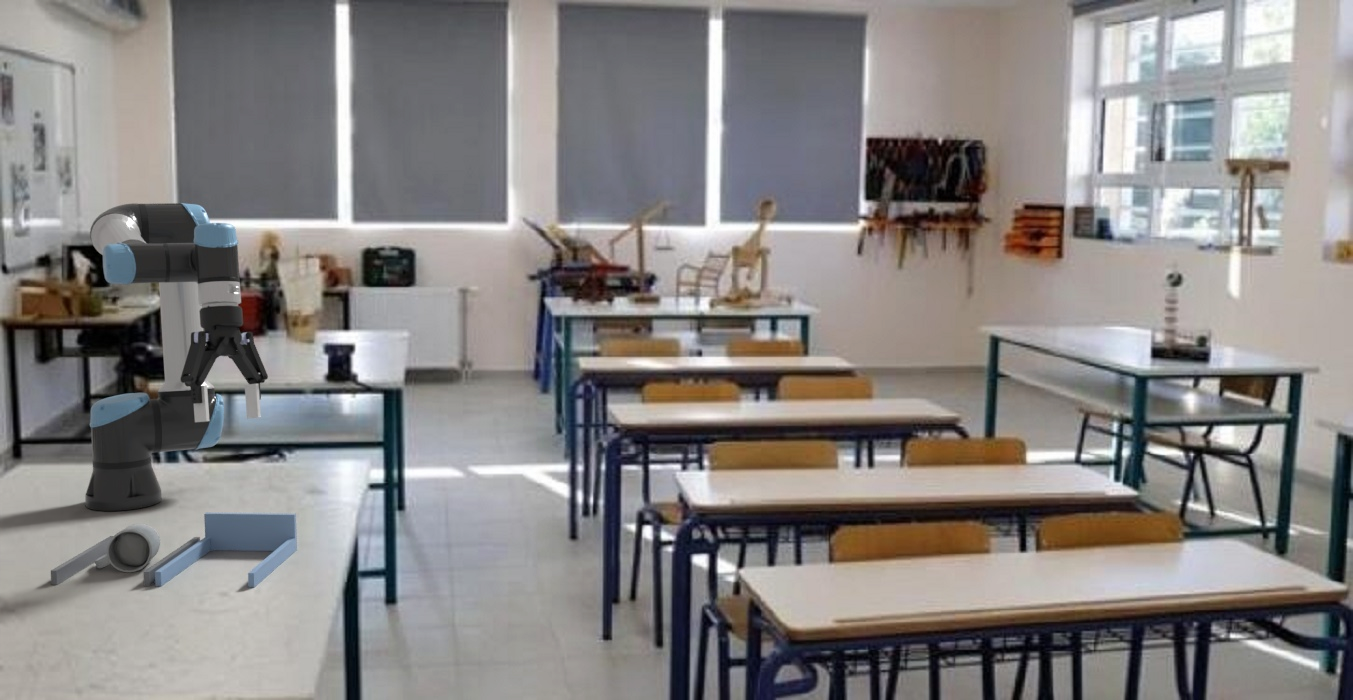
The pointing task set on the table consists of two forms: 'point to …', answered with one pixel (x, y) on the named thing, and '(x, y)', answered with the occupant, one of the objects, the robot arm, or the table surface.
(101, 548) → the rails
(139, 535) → the ceramic mug
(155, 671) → the table surface
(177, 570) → the frame
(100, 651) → the table surface
